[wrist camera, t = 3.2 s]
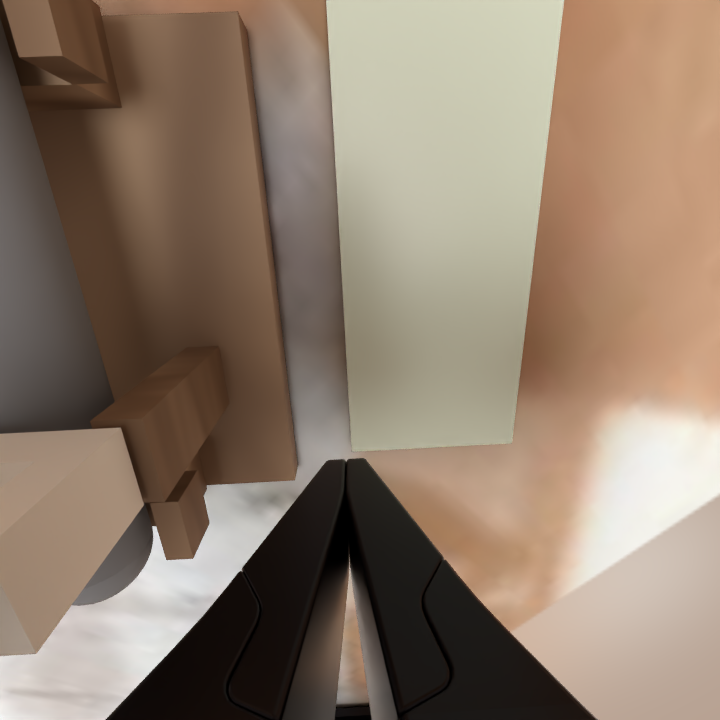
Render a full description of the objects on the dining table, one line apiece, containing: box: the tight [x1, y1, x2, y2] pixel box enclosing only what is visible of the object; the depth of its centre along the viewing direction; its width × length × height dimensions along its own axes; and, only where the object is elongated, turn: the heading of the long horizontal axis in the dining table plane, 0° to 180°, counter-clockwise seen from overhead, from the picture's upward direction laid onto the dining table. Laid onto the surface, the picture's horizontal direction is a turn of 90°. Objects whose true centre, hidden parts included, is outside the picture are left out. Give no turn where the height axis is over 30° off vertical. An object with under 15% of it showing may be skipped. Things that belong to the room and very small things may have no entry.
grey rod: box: [0, 19, 153, 606], centre depth 10 cm, size 3×18×3 cm, turn 2°
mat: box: [326, 0, 564, 452], centre depth 13 cm, size 7×18×1 cm, turn 2°
